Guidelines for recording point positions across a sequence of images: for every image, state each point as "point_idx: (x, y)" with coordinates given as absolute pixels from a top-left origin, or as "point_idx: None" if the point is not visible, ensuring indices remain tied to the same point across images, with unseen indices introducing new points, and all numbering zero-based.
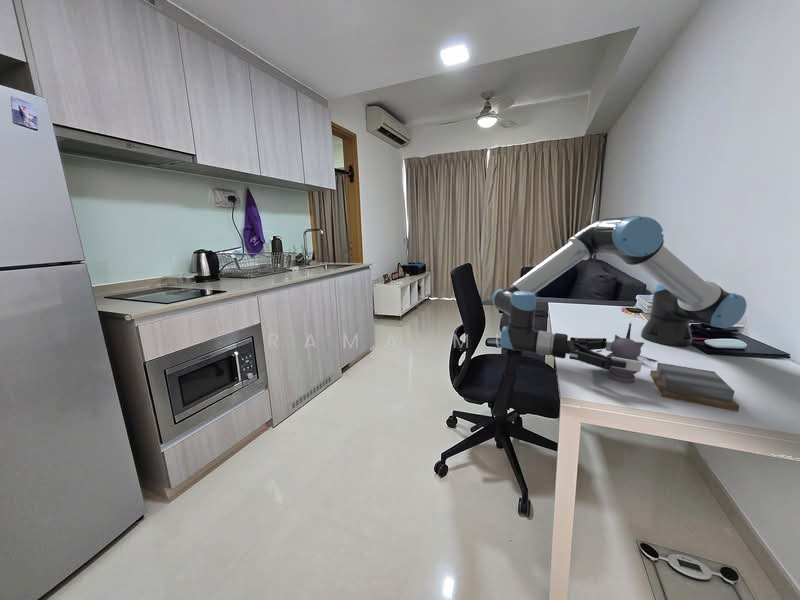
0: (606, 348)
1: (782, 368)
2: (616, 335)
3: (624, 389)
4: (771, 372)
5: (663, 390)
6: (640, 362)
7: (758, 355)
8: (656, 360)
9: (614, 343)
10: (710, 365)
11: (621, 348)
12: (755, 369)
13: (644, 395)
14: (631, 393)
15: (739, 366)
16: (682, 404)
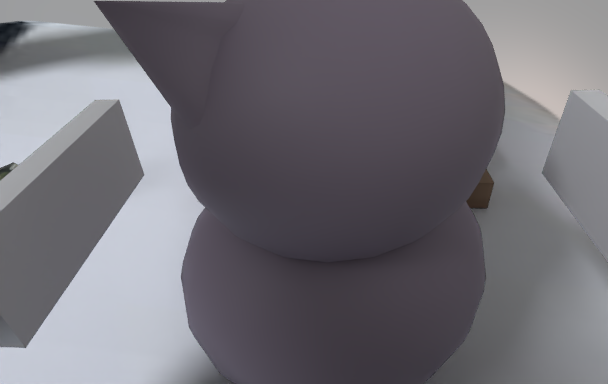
0: (16, 324)
1: (88, 31)
2: (131, 3)
3: (563, 355)
4: (114, 40)
5: (480, 181)
6: (605, 97)
7: (2, 36)
8: (6, 166)
9: (404, 106)
10: (70, 84)
11: (499, 99)
12: (97, 48)
13: (551, 266)
14: (596, 323)
15: (77, 58)
16: (509, 169)
